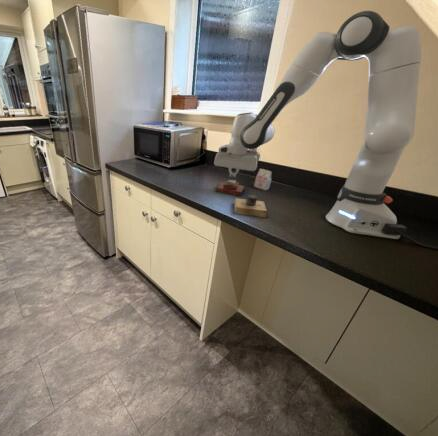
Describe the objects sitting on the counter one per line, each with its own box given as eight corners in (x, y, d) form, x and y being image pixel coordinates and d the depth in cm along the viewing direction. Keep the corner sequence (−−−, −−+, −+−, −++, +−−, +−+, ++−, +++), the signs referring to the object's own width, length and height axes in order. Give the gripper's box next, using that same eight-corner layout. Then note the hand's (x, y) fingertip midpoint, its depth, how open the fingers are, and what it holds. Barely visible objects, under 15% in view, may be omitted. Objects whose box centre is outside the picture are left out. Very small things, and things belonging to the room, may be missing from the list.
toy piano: (243, 189, 124) (245, 182, 122) (240, 196, 116) (241, 188, 114) (220, 185, 129) (221, 179, 127) (216, 191, 121) (217, 184, 119)
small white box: (257, 185, 130) (262, 167, 125) (268, 189, 125) (273, 171, 120) (253, 186, 128) (257, 168, 124) (264, 190, 123) (269, 172, 119)
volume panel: (262, 207, 105) (263, 201, 103) (265, 217, 96) (267, 210, 95) (234, 204, 108) (235, 197, 106) (234, 213, 99) (236, 206, 98)
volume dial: (245, 201, 103) (247, 193, 101) (255, 203, 102) (257, 195, 100) (245, 204, 100) (247, 196, 98) (255, 206, 98) (257, 198, 97)
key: (235, 183, 122) (236, 180, 121) (234, 186, 119) (234, 182, 118) (228, 182, 123) (229, 179, 122) (227, 184, 120) (227, 181, 119)
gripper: (261, 150, 111) (254, 178, 117) (218, 145, 119) (214, 171, 126) (260, 152, 106) (253, 181, 112) (215, 147, 114) (211, 175, 121)
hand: (232, 176), depth 119 cm, fingers closed
